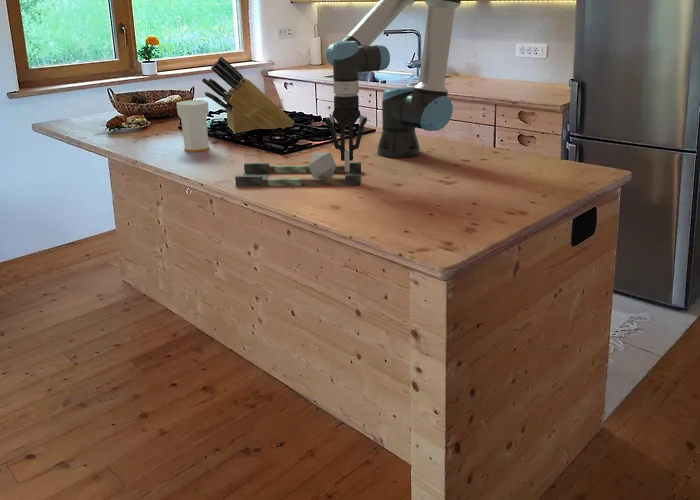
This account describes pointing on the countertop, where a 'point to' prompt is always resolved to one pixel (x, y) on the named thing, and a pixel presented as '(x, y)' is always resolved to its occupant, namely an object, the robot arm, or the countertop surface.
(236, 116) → the knife block
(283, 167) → the trap channel
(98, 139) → the countertop surface
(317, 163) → the die
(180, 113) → the cup
